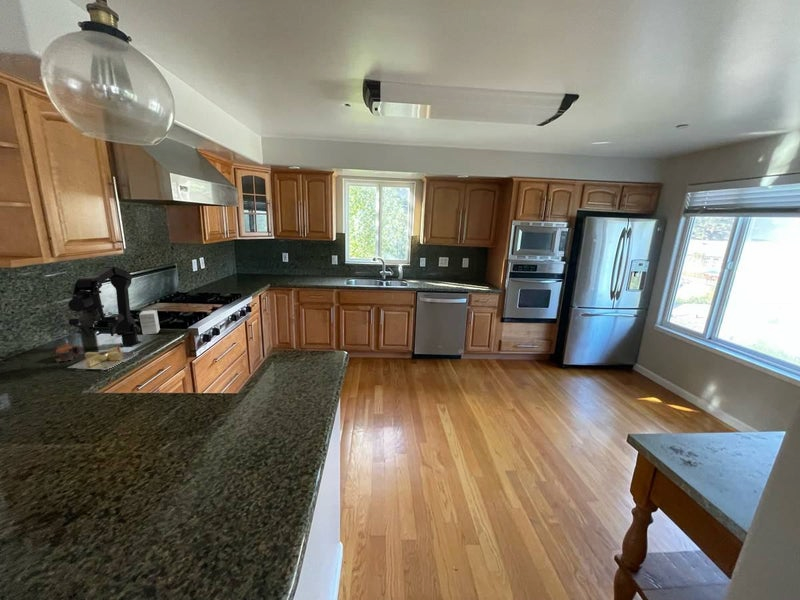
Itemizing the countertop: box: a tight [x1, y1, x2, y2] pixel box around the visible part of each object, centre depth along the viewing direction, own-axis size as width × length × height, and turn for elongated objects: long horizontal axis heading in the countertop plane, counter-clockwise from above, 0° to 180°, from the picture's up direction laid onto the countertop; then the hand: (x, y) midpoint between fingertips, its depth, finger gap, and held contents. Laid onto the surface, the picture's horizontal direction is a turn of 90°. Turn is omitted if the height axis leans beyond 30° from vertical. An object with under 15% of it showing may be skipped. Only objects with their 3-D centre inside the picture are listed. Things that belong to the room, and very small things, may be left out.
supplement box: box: [138, 309, 161, 336], centre depth 194 cm, size 7×7×13 cm
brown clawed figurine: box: [50, 343, 83, 362], centre depth 158 cm, size 12×10×8 cm
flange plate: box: [66, 351, 139, 369], centre depth 156 cm, size 18×18×2 cm
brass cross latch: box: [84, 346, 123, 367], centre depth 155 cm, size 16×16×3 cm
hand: (100, 336), depth 153 cm, fingers open, 9 cm apart
